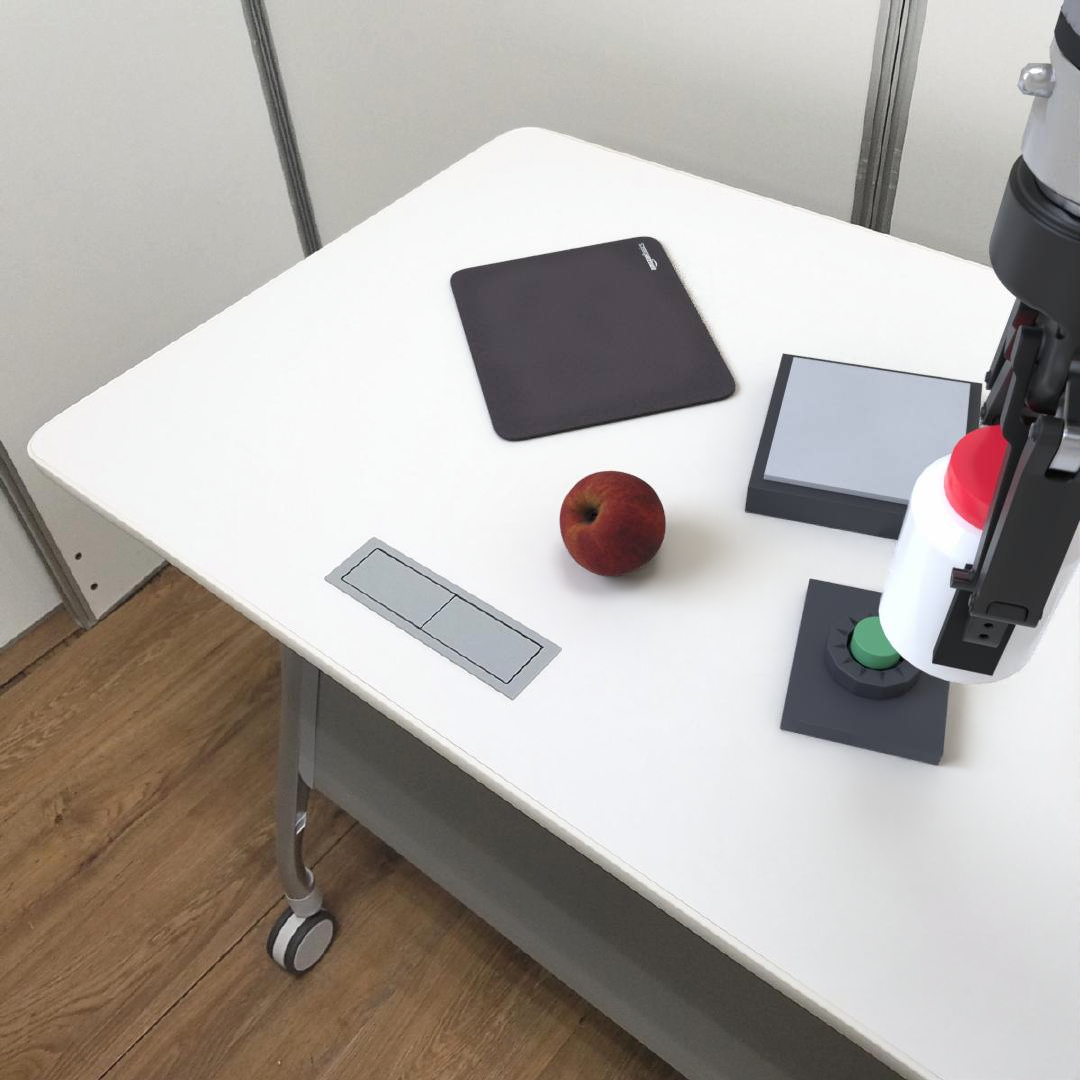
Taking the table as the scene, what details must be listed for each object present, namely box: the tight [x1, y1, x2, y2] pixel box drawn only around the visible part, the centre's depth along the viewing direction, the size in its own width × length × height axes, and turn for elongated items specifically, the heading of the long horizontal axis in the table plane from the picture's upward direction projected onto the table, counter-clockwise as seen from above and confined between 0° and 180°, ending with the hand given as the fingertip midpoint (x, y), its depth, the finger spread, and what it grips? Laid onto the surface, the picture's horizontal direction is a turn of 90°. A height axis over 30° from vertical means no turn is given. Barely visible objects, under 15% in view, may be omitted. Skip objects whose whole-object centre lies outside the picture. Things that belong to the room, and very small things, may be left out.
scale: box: [744, 353, 983, 540], centre depth 86 cm, size 16×16×3 cm
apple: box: [559, 470, 667, 577], centre depth 79 cm, size 7×8×8 cm
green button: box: [851, 617, 900, 669], centre depth 71 cm, size 3×3×2 cm
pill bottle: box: [879, 425, 1080, 685], centre depth 51 cm, size 8×8×11 cm
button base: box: [779, 578, 951, 766], centre depth 73 cm, size 12×10×3 cm
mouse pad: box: [449, 235, 736, 441], centre depth 99 cm, size 25×21×1 cm
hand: (967, 593), depth 54 cm, fingers closed on pill bottle, 8 cm apart
